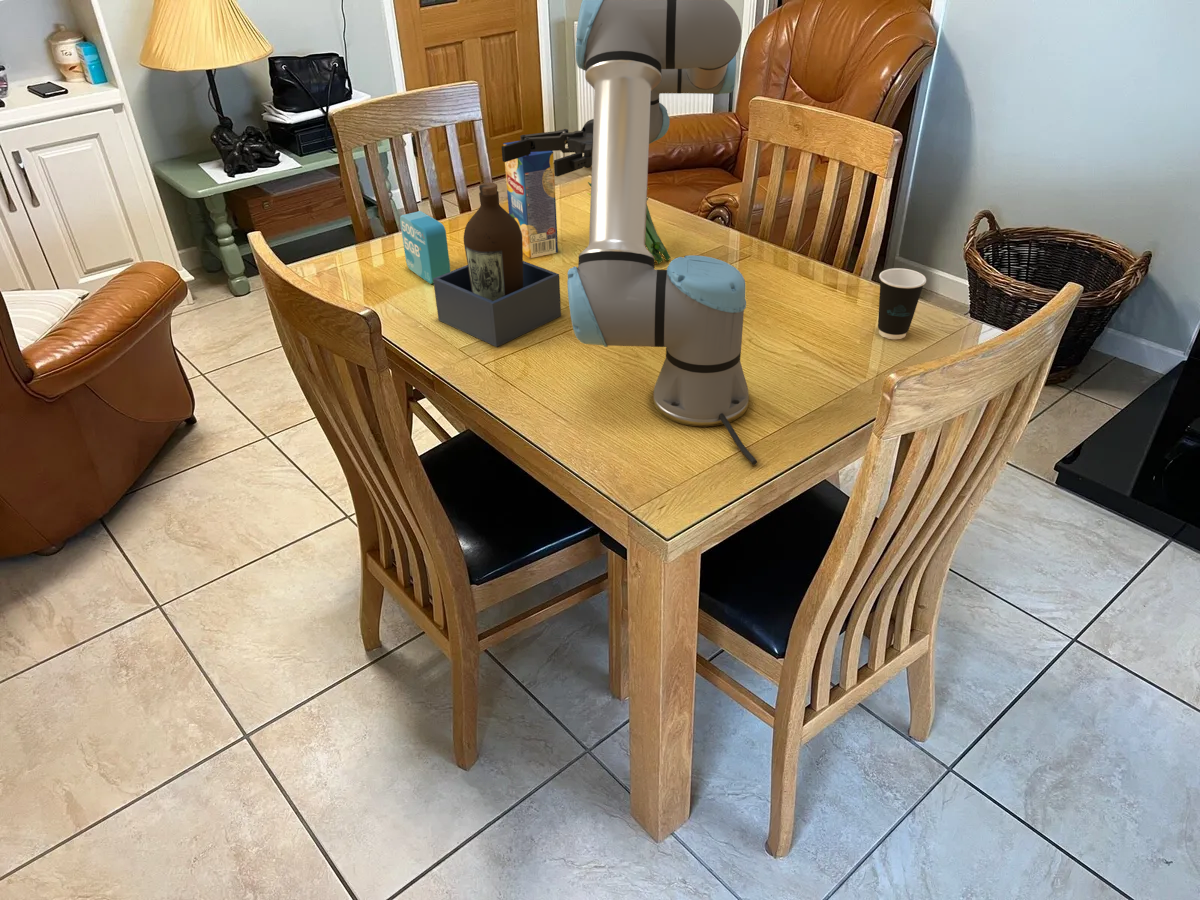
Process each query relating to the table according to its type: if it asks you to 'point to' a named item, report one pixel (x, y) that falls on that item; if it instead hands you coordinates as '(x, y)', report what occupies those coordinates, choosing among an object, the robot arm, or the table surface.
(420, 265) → the data package
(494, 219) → the brown bottle
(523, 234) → the cracker box
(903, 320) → the dixie cup
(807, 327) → the table surface
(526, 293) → the blue-grey hollow square box
